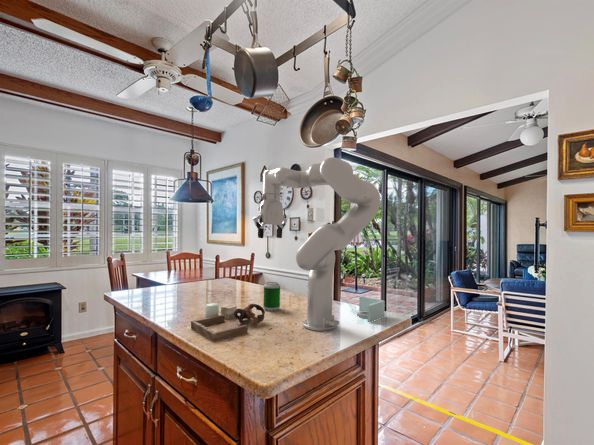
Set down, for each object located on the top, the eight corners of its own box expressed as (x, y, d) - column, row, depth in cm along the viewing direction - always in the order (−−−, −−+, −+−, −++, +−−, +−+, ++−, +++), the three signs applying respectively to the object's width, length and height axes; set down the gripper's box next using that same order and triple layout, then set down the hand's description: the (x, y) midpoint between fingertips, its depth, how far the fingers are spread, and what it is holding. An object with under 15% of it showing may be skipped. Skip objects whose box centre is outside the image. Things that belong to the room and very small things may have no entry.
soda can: (279, 311, 136) (279, 284, 136) (262, 311, 136) (262, 284, 136) (280, 307, 143) (280, 281, 143) (264, 307, 143) (264, 281, 143)
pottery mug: (255, 318, 127) (263, 303, 125) (260, 335, 119) (269, 319, 117) (228, 314, 121) (236, 298, 119) (232, 332, 113) (240, 315, 111)
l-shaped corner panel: (360, 312, 139) (360, 296, 139) (384, 318, 131) (384, 300, 131) (345, 317, 130) (345, 300, 130) (369, 324, 122) (370, 305, 122)
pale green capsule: (220, 320, 123) (220, 305, 123) (209, 322, 119) (209, 307, 119) (214, 317, 126) (214, 302, 126) (203, 319, 123) (203, 304, 123)
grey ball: (253, 314, 131) (253, 306, 131) (246, 316, 128) (246, 307, 128) (248, 312, 133) (248, 304, 133) (241, 314, 131) (241, 305, 131)
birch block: (236, 316, 127) (236, 306, 128) (228, 319, 124) (228, 308, 124) (228, 315, 130) (228, 304, 130) (220, 317, 126) (220, 306, 126)
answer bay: (247, 332, 109) (247, 325, 109) (213, 341, 100) (213, 333, 100) (223, 320, 121) (223, 314, 121) (190, 327, 112) (191, 320, 112)
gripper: (259, 196, 124) (257, 238, 124) (292, 199, 135) (291, 238, 135) (249, 197, 130) (248, 237, 130) (282, 200, 141) (280, 237, 141)
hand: (270, 237), depth 133 cm, fingers open, 9 cm apart
